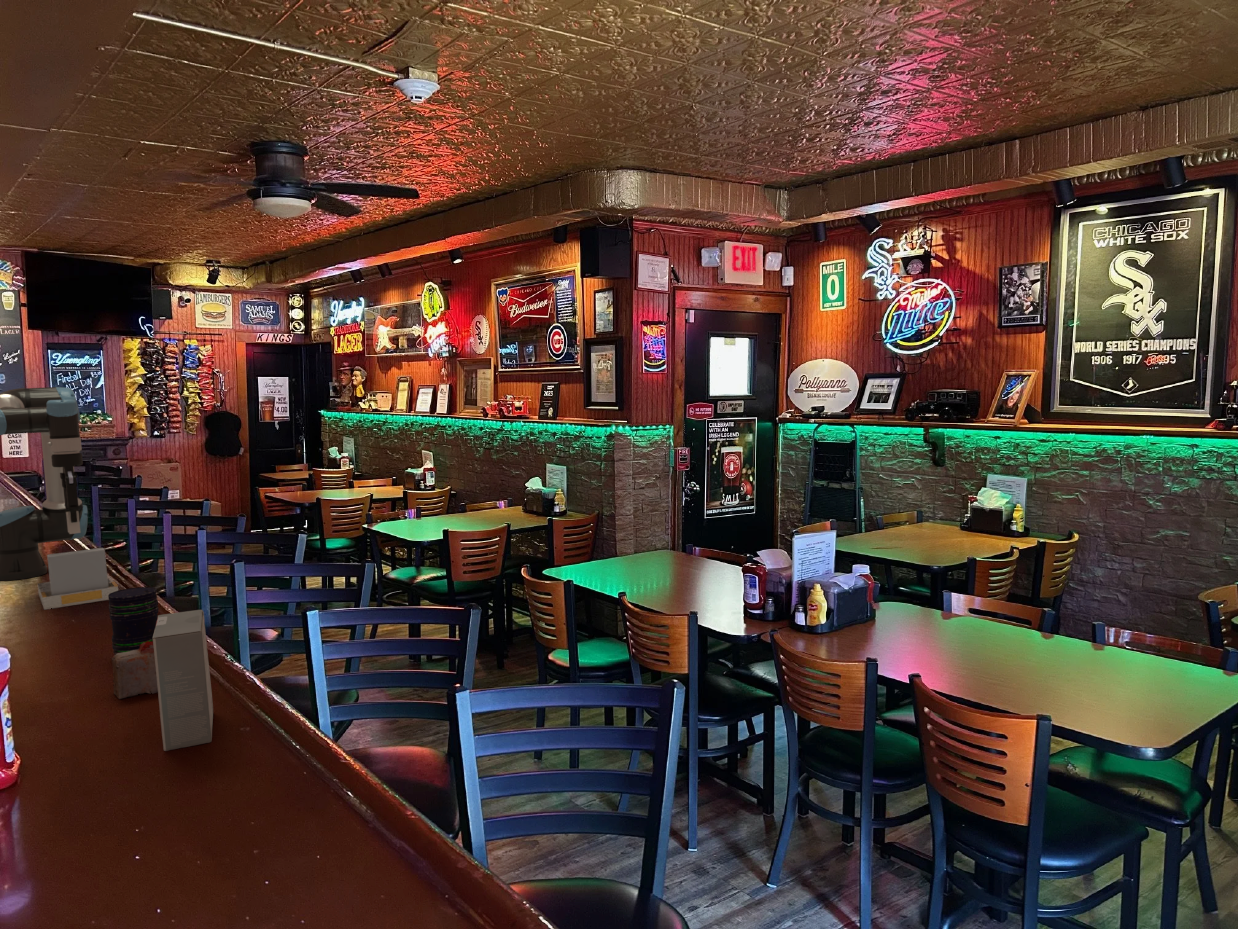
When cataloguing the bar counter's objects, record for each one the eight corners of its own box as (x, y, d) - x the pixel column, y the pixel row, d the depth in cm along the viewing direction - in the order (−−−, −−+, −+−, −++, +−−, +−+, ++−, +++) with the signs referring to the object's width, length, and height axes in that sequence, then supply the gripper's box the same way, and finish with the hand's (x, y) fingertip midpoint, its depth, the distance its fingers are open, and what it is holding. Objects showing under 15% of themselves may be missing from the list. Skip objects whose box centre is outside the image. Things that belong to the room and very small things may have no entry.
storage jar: (107, 664, 191) (101, 599, 189) (120, 651, 200) (114, 589, 199) (156, 659, 193) (151, 594, 192) (167, 647, 203) (161, 585, 201)
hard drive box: (167, 720, 157) (158, 614, 155) (213, 712, 160) (205, 608, 158) (162, 752, 143) (151, 636, 141) (212, 743, 146) (203, 629, 144)
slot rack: (38, 594, 262) (37, 582, 262) (108, 584, 274) (107, 573, 273) (44, 610, 243) (42, 597, 243) (119, 598, 254) (118, 586, 254)
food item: (185, 676, 182) (181, 630, 181) (194, 685, 175) (190, 639, 174) (112, 692, 173) (107, 645, 172) (118, 703, 167) (114, 654, 166)
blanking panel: (51, 601, 250) (47, 554, 249) (107, 593, 258) (102, 547, 257) (53, 605, 246) (48, 557, 245) (109, 596, 254) (104, 550, 253)
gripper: (48, 452, 252) (56, 530, 255) (53, 455, 239) (61, 537, 242) (78, 450, 257) (86, 527, 259) (84, 453, 244) (92, 534, 246)
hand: (74, 532), depth 250 cm, fingers open, 3 cm apart
